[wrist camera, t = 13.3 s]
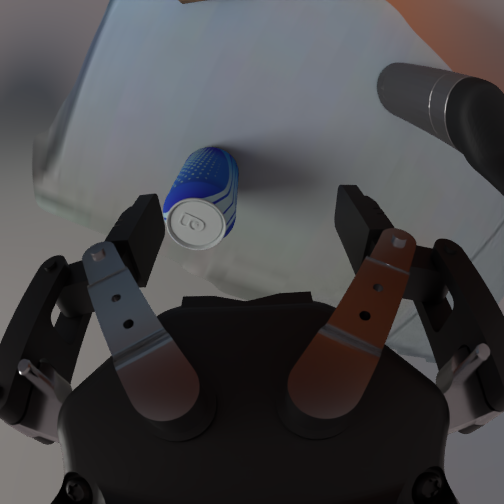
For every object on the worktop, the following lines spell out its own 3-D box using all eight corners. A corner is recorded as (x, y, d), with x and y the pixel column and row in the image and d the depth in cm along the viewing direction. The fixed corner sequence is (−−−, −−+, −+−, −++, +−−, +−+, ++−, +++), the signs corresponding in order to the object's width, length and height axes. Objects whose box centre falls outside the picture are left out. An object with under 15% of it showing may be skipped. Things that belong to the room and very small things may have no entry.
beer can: (226, 136, 39) (215, 179, 26) (246, 183, 44) (246, 244, 31) (176, 156, 40) (144, 207, 28) (198, 200, 45) (180, 264, 33)
